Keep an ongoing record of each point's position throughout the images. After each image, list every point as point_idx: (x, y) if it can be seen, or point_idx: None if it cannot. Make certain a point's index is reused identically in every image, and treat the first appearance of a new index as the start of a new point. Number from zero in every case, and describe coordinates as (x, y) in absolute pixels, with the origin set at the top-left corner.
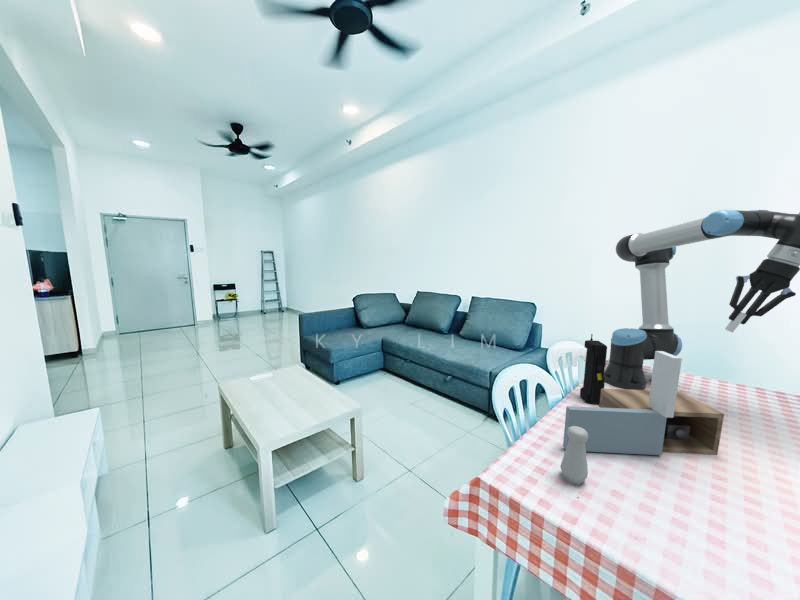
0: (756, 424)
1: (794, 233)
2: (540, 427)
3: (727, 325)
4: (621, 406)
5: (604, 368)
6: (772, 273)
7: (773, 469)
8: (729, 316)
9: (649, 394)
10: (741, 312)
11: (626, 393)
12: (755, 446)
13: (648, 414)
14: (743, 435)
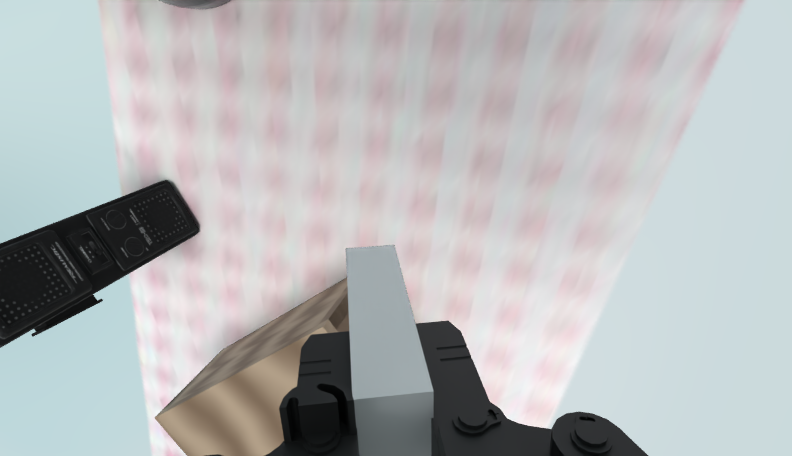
0: (605, 72)
1: None
2: (152, 423)
3: (347, 269)
4: None
5: (96, 291)
6: None
7: (538, 373)
8: (301, 361)
9: (254, 402)
10: (382, 442)
11: (208, 423)
12: (539, 271)
13: None
14: (529, 211)
